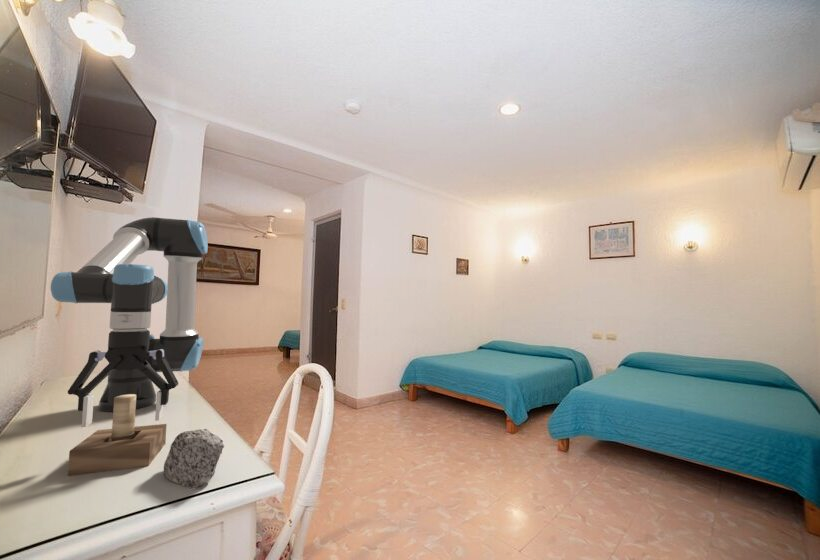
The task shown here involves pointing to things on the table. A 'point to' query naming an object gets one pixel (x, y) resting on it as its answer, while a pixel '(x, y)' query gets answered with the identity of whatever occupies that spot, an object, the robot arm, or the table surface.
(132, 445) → the board
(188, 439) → the rock
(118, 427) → the peg
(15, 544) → the table surface
